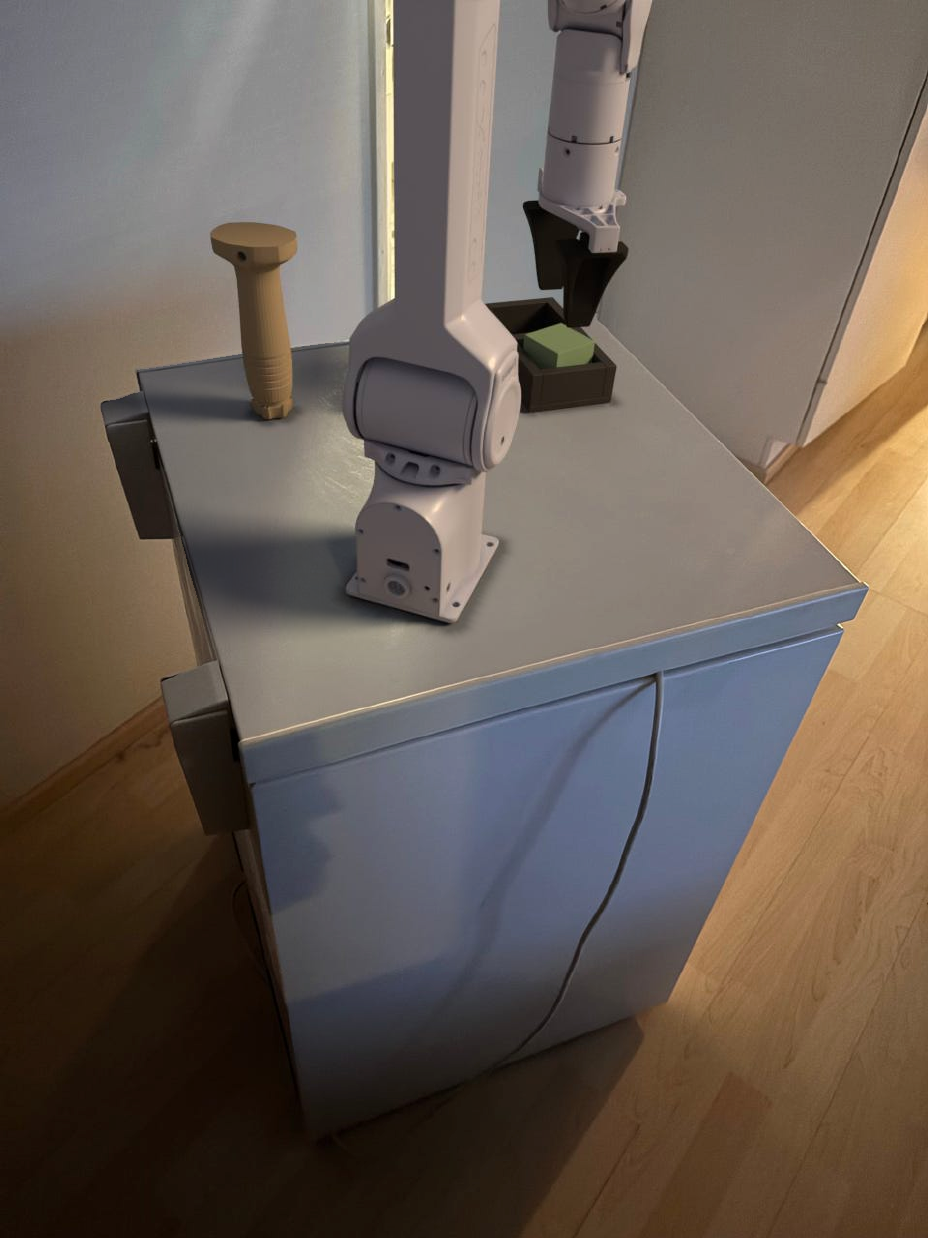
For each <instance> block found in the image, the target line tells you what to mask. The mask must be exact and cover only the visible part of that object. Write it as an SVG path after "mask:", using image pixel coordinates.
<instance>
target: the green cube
mask: <svg viewBox="0 0 928 1238" xmlns="http://www.w3.org/2000/svg"><path fill="white" fill-rule="evenodd" d="M590 338H591V337H590ZM590 338H588V337H586V336H584V335H582V334H580V333H579V332H577V331H575V330H573V329H571V328H568V327H567V326H566V325H564V324H562V323H560V324H556V325H553V326H550V327H547V328H544V329H541V330H537V331H534V332H531V333H528V334H525V335H524V345H523V350H524V351H525V352H526V354H527V355H528V356H529V357H530V359H531V360H532V361H533V362H534V364H535V365H536V366H537V367H538V369H539V370H540V369H547V368H556V367H564V366H573V365H581V364H590V363H592V358H593V351H594V345H595V343H596V341H595V340H593V339H592V338H591V339H592V340H591V339H590Z"/></svg>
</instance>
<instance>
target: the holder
mask: <svg viewBox="0 0 928 1238" xmlns="http://www.w3.org/2000/svg"><path fill="white" fill-rule="evenodd" d="M484 304H485V305H486V306H487V308H488V309H489V310H490V311H491V312H492V313H493V315H494V316H495V317H496V318H497V319H498V320H499V321H500V322H501V323H502V324H503V325H504V327H505V328H506V329H507V330H508V331H509V332H510V333H511V335H512V336H513V337H514V338H515V340H516V341H517V352H518V355H519V357H518V380H519V383H520V387H521V405H523V406H524V408H525V409H526V411H527V412H528V413H530V414H531V413H538V412H545V411H546V412H547V411H552V410H561V409H569V408H577V407H584V406H592V405H599V404H607V403H611V401H612V396H613V390H614V385H615V380H616V379H615V378H616V374H617V368H618V366H617V364H616V363H615V362H614V361H613V360H612V359H611V358H610V357H609V356H608V355H607V353H606V352H605V351H604V350H603V349H602V348H601V347H600V346H599V345H598V344H597V343H596V342H595V345H594V351H593V358H592V363H590V364H581V365H573V366H564V367H556V368H547V369H540V370H539V369H538V367H537V366H536V365H535V364H534V362H533V361H532V360H531V359H530V357H529V356H528V355H527V354H526V352H525V351H524V350H523V345H524V335H525V334H528V333H531V332H534V331H537V330H541V329H544V328H547V327H550V326H553V325H556V324H560V323H562V324H564V325H565V322H564V315H563V306H561V304H560V303H559V302H558V301H557V300H556V299H555V298H554V297H553V296H551V297H549V296H548V297H540V298H528V299H527V298H526V299H519V300H508V301H497V302H496V301H495V302H487V303H484ZM571 329H573V330H575V331H577V332H579V333H580V334H582V335H584V336H586V337H588V338H590V339H591V340H593V338H591V336H590V335H588V333H587V332H586V331H585V330H584V329H583V327H574V328H571Z"/></svg>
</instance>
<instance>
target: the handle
mask: <svg viewBox="0 0 928 1238" xmlns="http://www.w3.org/2000/svg"><path fill="white" fill-rule="evenodd" d="M209 236H210V244H211V250H212V252H213V254H215V255H216V256H217V257H220V258H222V259H223V260H225V261H227V262H228V263H230V264H231V265H232V266H233V269H234V273H235V278H236V279H235V280H236V290H237V301H238V302H237V303H238V315H239V331H240V332H239V333H240V345H241V347H240V348H241V355H242V364H243V369H244V373H245V378H246V382H247V386H248V390H249V393H250V395H251V397H252V398H251V404H252V408H253V411H254V413H255V414H258V415H260V416H261V417H262V419H264V420H272V419H278V418H279V419H280V418H281V419H284V418H286V417H287V416H288V413H289V412H291V411H292V409H293V396H292V390H293V357H292V348H291V340H290V333H289V328H288V321H287V315H286V309H285V303H284V297H283V289H282V282H281V281H282V280H281V266H282V265H283V264H286V263H287V262H289V261H290V260H292V259H293V258H294V257H295V255H296V254H297V252H298V238H297V233H296V231H294V230H292V229H290V228H287V227H284V226H280V225H277V224H272V223H271V224H270V223H263V222H256V221H239V222H237V221H235V222H225V223H222V224H220V225H218V226H216V227H214V228H213V229H212V230H211V231H210V233H209Z"/></svg>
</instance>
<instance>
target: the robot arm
mask: <svg viewBox="0 0 928 1238" xmlns="http://www.w3.org/2000/svg"><path fill="white" fill-rule="evenodd" d="M652 3H653V0H547V20H548V27H549V30H550V31H552V32H553V33H555V34H556V33H558V34H557V35H556V40H555V52H554V61H553V71H552V83H551V90H550V91H551V93H550V100H549V101H550V103H549V111H548V112H549V113H548V124H547V131H546V144H545V154H544V164H543V166H542V167H541V166H540V167H539V168H538V179H537V188H536V189H537V190H536V191H537V192H538V199H537V200H535V199H534V200H526V201H524V202H523V203H522V210H523V212H524V215H525V218H526V221H527V223H528V227H529V230H530V235H531V239H532V240H531V241H532V244H533V245H532V246H533V252H534V261H535V272H536V280H537V286H538V288H539V290H540V291H554V290H562V291H563V292H562V293H563V294H562V296H563V297H562V298H563V300H562V301H563V302H562V308H563V315H564V322H565V325H566V326H567V327H568V328H574V327H581V328H587V327H590V326H591V324H592V322H593V320H594V319H595V318H594V317H595V315H596V313H597V311H598V308H599V306H600V303H601V301H602V298H603V296H604V293H605V291H606V289H607V287H608V285H609V283H610V282H611V280H612V278H613V277H614V275H615V274H616V272H617V271H618V269H619V268H620V267H621V266H622V265H623V264H624V262H625V261H626V260H627V259H628V255H629V250H630V249H629V247H628V246H627V244H625V243H624V242H623V240H619V238H620V233H621V226H620V225H619V223H618V222H617V219H616V218H617V217H616V207H624V206H626V203H627V195H626V194H625V193H624V192H623V191H622V190H620V189H615V185H616V179H617V174H618V173H617V172H618V165H619V158H620V152H621V145H622V138H623V133H624V125H625V118H626V113H627V105H628V99H629V91H630V85H631V78H632V70H633V69H634V68H636V67H637V65H638V62H639V58H640V55H641V48H642V42H643V37H644V32H645V28H646V25H647V23H648V18H649V16H650V13H651V8H652V5H653V4H652ZM500 7H501V0H392V19H393V20H392V36H393V37H392V41H393V42H392V43H393V44H392V45H393V47H392V48H393V51H392V53H393V55H392V57H393V62H392V63H393V65H392V67H393V68H392V69H393V70H392V71H393V73H392V74H393V216H394V217H393V232H394V233H393V234H394V237H393V242H394V243H393V247H394V249H393V251H394V253H393V254H394V260H393V261H394V267H393V268H394V269H393V271H394V276H393V277H394V297H393V298H392V299H390V300H389V301H386V302H385V303H384V304H382V305H380V306H378V307H377V308H375V309H373V310H372V311H370V312H369V313H368V314H366V316H365V317H363V319H361V321H359V322H358V324H357V325H356V327H355V329H354V330H353V332H352V333H351V335H350V336H349V339H348V340H349V341H348V359H347V360H348V361H347V368H346V369H347V370H346V374H345V376H344V380H343V381H344V382H343V386H342V392H341V407H342V408H341V409H342V414H343V419H344V421H345V424H346V427H347V429H348V431H349V433H350V434H351V436H352V437H354V438H355V439H357V440H361V441H363V450H364V451H363V454H364V457H365V458H368V459H370V460H372V461H374V477H373V484H372V487H371V490H370V493H369V496H368V497H367V500H366V501H365V503H364V505H363V506H362V508H361V509H360V511H359V512H358V514H357V517H356V519H355V525H354V526H355V527H354V535H355V536H354V537H355V554H356V555H355V557H356V571H355V572H354V574H353V575H352V577H351V579H350V580H349V581H348V582H347V584H346V586H345V592H346V594H347V595H348V596H351V597H355V598H359V599H361V600H366V601H370V602H372V603H376V604H380V605H383V606H387V607H390V608H395V609H398V610H401V611H405V612H409V613H412V614H416V615H420V616H423V617H426V618H430V619H434V620H437V621H440V622H443V623H448V624H454V623H456V622H457V621H458V620H459V618H460V617H461V615H462V613H463V612H464V609H465V607H466V605H467V603H468V602H469V600H470V597H471V596H472V594H473V592H474V591H475V589H476V586H477V585H478V584H479V581H480V579H481V578H482V576H483V574H484V572H485V570H487V567H488V565H489V563H490V561H492V558H493V556H494V554H495V553H496V551H497V549H498V547H499V541H500V540H499V539H498V538H497V537H495V536H491V535H488V534H484V533H483V524H484V523H483V522H484V509H485V508H484V507H485V493H486V479H487V473H489V472H491V471H492V470H493V469H494V468H495V467H497V466H498V465H500V464H501V463H502V462H503V461H504V459H505V457H506V456H507V453H508V452H509V450H510V447H511V445H512V442H513V439H514V436H515V433H516V430H517V426H518V422H519V418H520V417H519V416H520V412H521V411H520V410H521V405H522V402H521V387H520V383H519V380H518V357H519V355H518V352H517V341H516V340H515V338H514V337H513V336H512V335H511V333H510V332H509V331H508V330H507V329H506V328H505V327H504V325H503V324H502V323H501V322H500V321H499V320H498V319H497V318H496V317H495V316H494V315H493V313H492V312H491V311H490V310H489V309H488V308H487V306H486V305H485V304H486V303H485V302H484V301H483V284H484V266H485V251H486V250H485V249H486V235H487V233H486V232H487V218H488V202H489V188H490V187H489V186H490V185H489V184H490V170H491V169H490V168H491V156H492V155H491V152H492V151H491V150H492V138H493V137H492V135H493V120H494V119H493V118H494V104H495V89H496V74H497V73H496V71H497V59H498V58H497V56H498V41H499V26H500V25H499V23H500V9H501V8H500ZM559 31H560V32H559ZM578 236H579V239H578Z"/></svg>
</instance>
